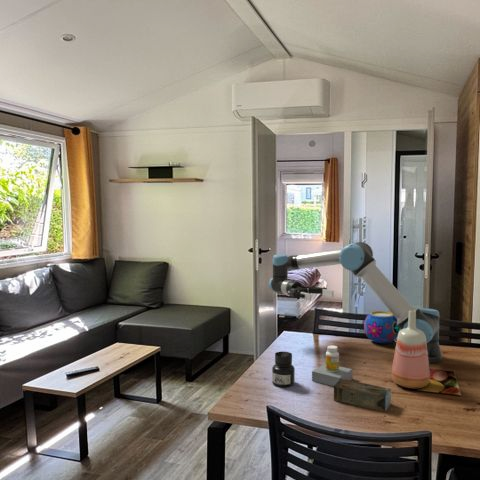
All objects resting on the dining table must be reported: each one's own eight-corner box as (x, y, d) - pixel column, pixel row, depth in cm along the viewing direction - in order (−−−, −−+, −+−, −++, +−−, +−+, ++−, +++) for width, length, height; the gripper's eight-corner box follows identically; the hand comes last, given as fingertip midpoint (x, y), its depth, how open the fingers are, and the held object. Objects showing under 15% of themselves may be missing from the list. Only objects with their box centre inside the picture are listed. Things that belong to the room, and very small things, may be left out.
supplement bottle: (323, 368, 195) (324, 345, 194) (336, 367, 195) (336, 344, 195) (327, 372, 190) (327, 349, 189) (340, 372, 190) (340, 348, 189)
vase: (401, 375, 198) (403, 305, 195) (436, 384, 187) (438, 310, 185) (384, 384, 188) (386, 311, 185) (419, 395, 177) (421, 317, 175)
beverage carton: (385, 413, 163) (386, 394, 162) (332, 401, 173) (332, 383, 172) (391, 404, 170) (391, 386, 169) (339, 393, 179) (339, 376, 179)
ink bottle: (267, 383, 189) (267, 354, 188) (279, 377, 196) (279, 349, 195) (288, 389, 183) (288, 359, 182) (299, 382, 190) (299, 353, 189)
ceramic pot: (399, 348, 233) (400, 318, 231) (362, 345, 238) (362, 316, 237) (399, 339, 249) (400, 311, 248) (364, 336, 255) (365, 308, 254)
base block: (352, 378, 194) (352, 369, 194) (339, 387, 184) (339, 377, 184) (325, 372, 201) (325, 363, 201) (312, 380, 192) (312, 371, 191)
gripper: (311, 293, 239) (341, 300, 221) (271, 298, 226) (300, 307, 208) (311, 278, 239) (341, 284, 221) (271, 283, 225) (300, 290, 207)
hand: (321, 295), depth 214 cm, fingers open, 13 cm apart
